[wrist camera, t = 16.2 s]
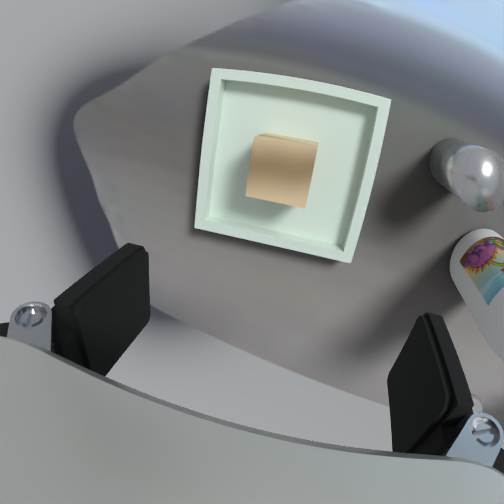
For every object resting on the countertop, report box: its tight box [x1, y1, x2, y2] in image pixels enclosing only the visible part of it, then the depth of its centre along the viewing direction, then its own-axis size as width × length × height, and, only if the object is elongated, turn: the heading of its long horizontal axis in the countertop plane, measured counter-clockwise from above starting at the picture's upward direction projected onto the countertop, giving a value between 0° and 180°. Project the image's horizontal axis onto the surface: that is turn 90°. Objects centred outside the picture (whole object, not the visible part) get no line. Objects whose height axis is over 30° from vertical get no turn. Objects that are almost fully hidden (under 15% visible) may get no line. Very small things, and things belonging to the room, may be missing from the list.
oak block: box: [245, 132, 318, 209], centre depth 27 cm, size 5×5×5 cm
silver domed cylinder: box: [429, 138, 504, 212], centre depth 23 cm, size 5×5×8 cm
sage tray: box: [195, 68, 391, 263], centre depth 29 cm, size 16×16×2 cm
